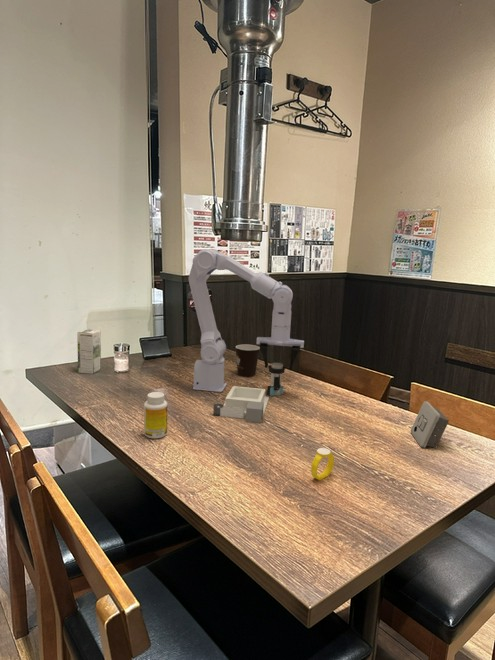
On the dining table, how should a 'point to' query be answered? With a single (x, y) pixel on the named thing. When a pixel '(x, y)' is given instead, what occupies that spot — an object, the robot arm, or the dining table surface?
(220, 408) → the pin
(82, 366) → the syrup box
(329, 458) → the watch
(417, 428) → the electrical switch
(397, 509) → the dining table surface
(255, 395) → the dock
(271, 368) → the push button
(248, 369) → the coffee mug
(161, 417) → the supplement bottle
